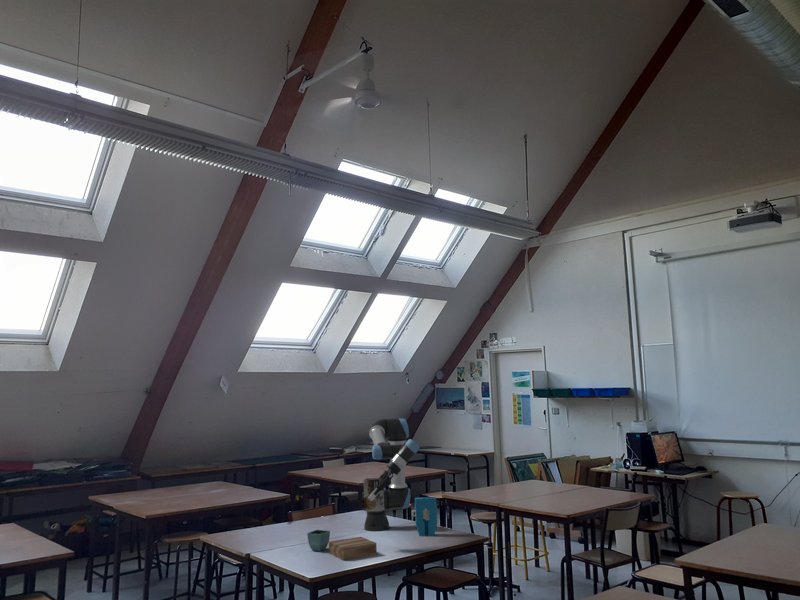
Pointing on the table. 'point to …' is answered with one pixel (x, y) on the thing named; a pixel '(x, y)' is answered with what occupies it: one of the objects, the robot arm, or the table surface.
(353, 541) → the walnut block
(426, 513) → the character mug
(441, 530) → the table surface
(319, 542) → the flower pot
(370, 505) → the coffee box
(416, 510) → the block
